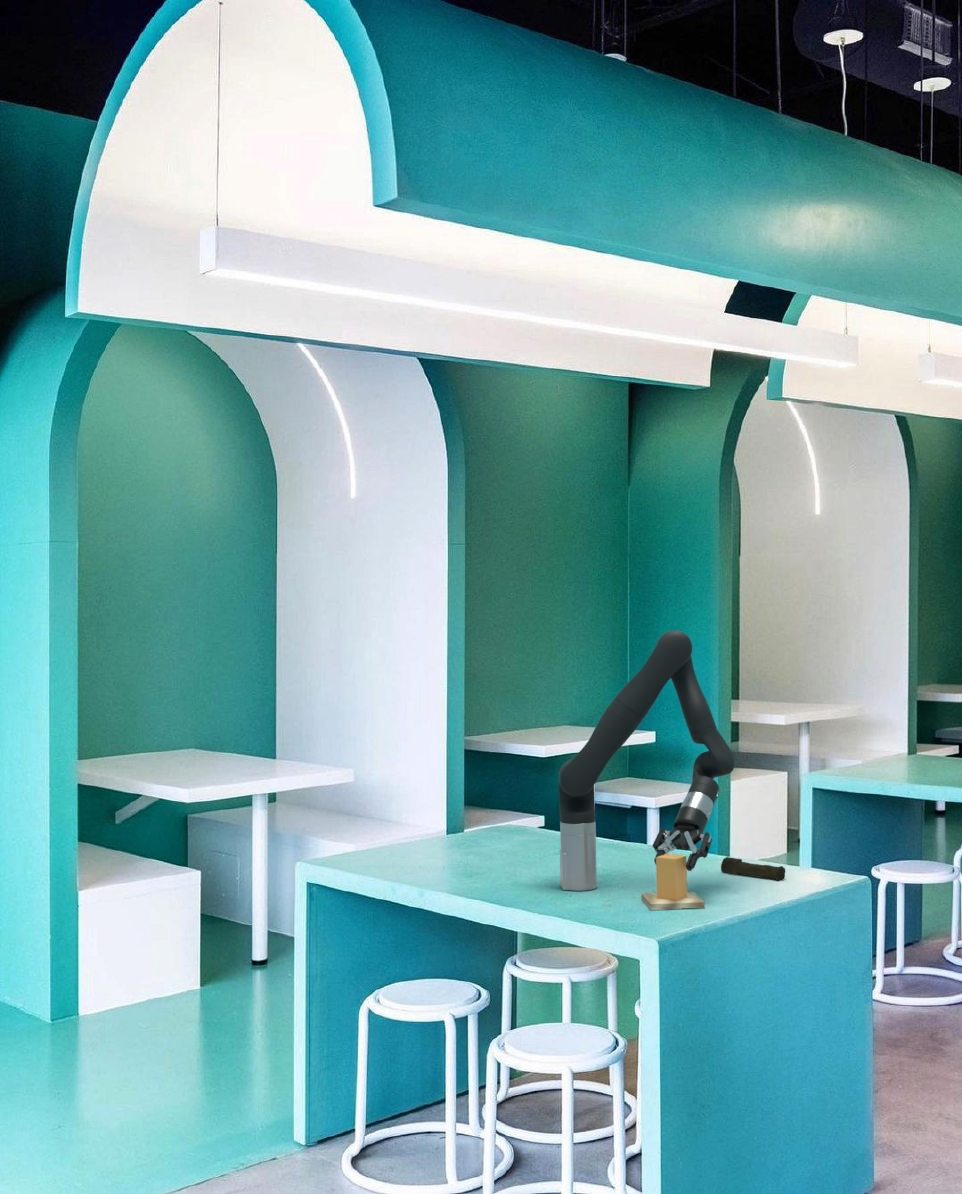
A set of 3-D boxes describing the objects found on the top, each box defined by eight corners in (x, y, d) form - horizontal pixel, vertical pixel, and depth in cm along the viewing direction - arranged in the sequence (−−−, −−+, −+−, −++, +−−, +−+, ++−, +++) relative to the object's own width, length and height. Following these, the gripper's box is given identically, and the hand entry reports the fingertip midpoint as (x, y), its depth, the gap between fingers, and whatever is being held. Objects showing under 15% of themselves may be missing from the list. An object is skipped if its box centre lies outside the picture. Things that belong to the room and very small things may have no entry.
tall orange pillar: (656, 898, 337) (656, 857, 337) (668, 894, 342) (667, 853, 342) (676, 900, 334) (675, 859, 334) (687, 896, 338) (686, 855, 338)
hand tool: (786, 880, 364) (786, 862, 364) (778, 882, 362) (777, 865, 362) (727, 872, 378) (726, 855, 378) (718, 874, 375) (718, 857, 375)
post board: (650, 910, 331) (650, 879, 331) (641, 899, 344) (640, 869, 344) (704, 908, 332) (703, 877, 332) (693, 897, 345) (692, 867, 345)
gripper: (663, 803, 350) (641, 855, 341) (714, 807, 341) (693, 861, 332) (674, 821, 354) (652, 873, 345) (724, 825, 345) (704, 879, 336)
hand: (672, 867), depth 338 cm, fingers open, 8 cm apart
